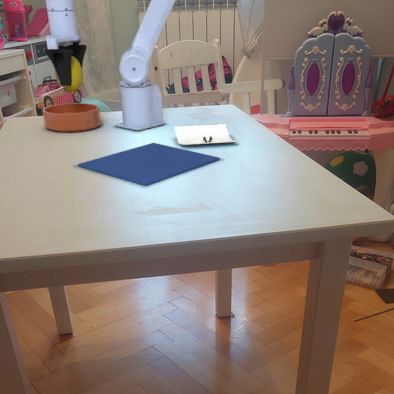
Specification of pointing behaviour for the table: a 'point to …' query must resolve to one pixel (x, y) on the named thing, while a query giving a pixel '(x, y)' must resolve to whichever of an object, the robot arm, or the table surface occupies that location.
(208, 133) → the white square plate
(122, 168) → the cloth
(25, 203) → the table surface
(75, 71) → the lemon
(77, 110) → the bowl
